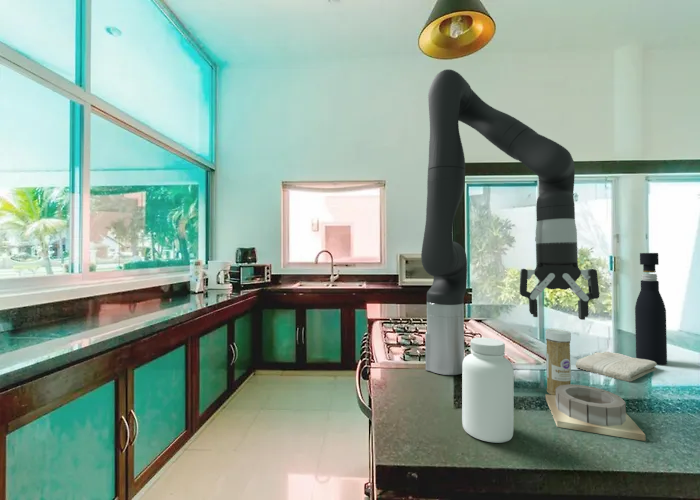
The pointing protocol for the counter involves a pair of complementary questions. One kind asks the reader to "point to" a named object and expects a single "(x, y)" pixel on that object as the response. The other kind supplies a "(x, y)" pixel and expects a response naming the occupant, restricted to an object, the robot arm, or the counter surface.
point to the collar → (592, 411)
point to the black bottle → (650, 315)
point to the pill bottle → (488, 391)
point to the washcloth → (616, 365)
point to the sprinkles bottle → (558, 359)
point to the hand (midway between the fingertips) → (558, 317)
